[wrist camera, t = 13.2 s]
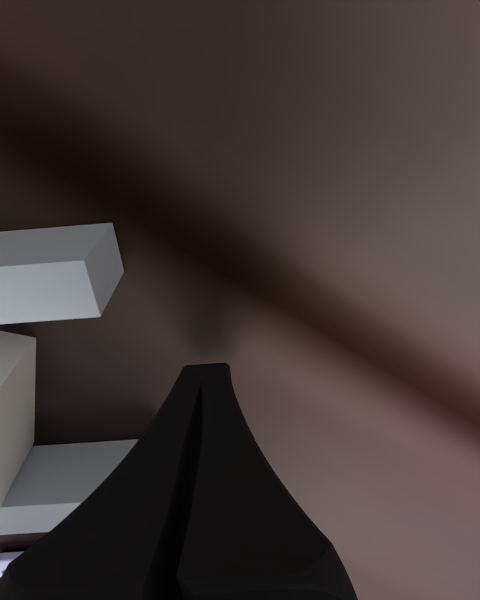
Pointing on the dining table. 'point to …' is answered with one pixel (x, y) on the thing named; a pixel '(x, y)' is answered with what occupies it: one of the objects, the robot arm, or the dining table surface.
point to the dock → (47, 307)
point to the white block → (16, 404)
